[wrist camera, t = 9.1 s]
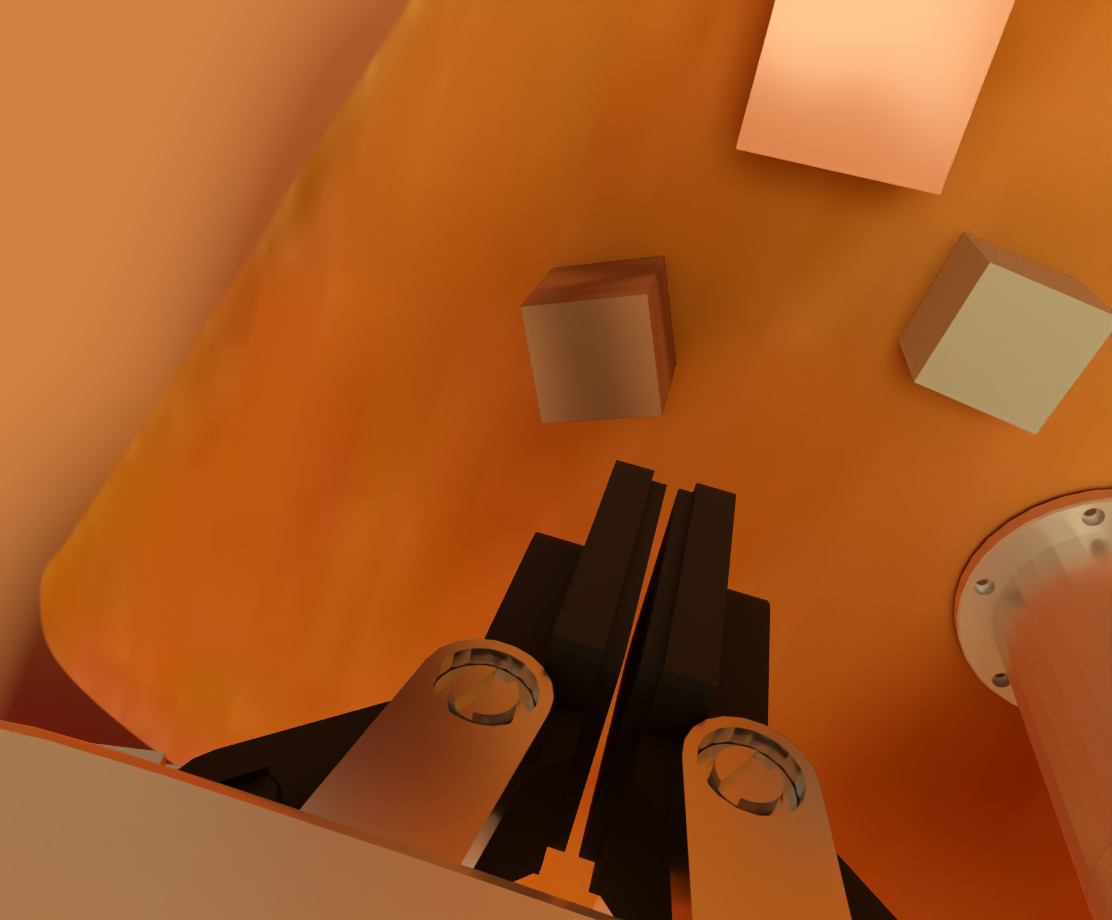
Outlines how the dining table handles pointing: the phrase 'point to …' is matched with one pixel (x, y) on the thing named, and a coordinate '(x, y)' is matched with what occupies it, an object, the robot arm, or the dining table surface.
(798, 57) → the terracotta block
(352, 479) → the dining table surface
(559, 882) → the dining table surface
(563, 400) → the walnut block
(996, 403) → the greygreen block
